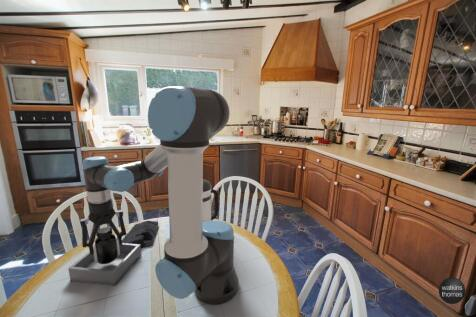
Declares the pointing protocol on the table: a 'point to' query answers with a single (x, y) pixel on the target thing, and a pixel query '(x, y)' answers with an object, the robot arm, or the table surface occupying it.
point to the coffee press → (209, 202)
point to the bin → (105, 266)
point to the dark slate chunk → (142, 234)
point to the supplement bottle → (105, 246)
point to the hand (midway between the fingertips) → (107, 256)
